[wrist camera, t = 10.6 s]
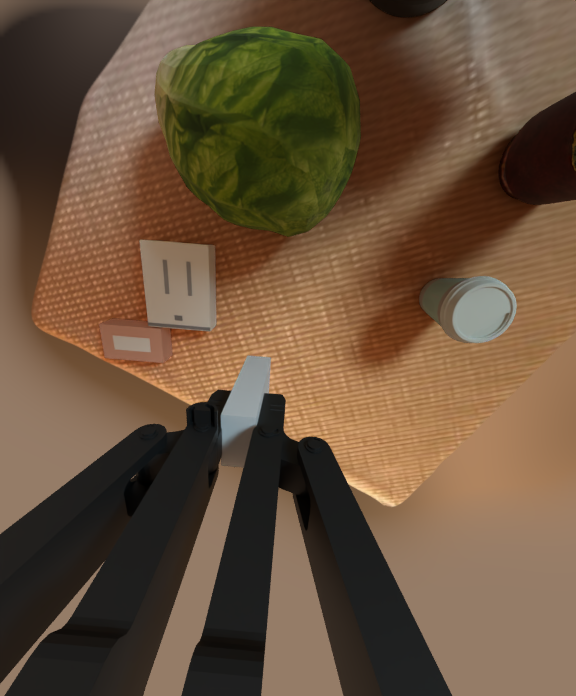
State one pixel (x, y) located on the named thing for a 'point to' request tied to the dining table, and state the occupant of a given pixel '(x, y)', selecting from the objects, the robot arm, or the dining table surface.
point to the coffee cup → (469, 307)
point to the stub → (135, 341)
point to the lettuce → (261, 126)
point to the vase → (543, 157)
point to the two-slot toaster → (179, 284)
